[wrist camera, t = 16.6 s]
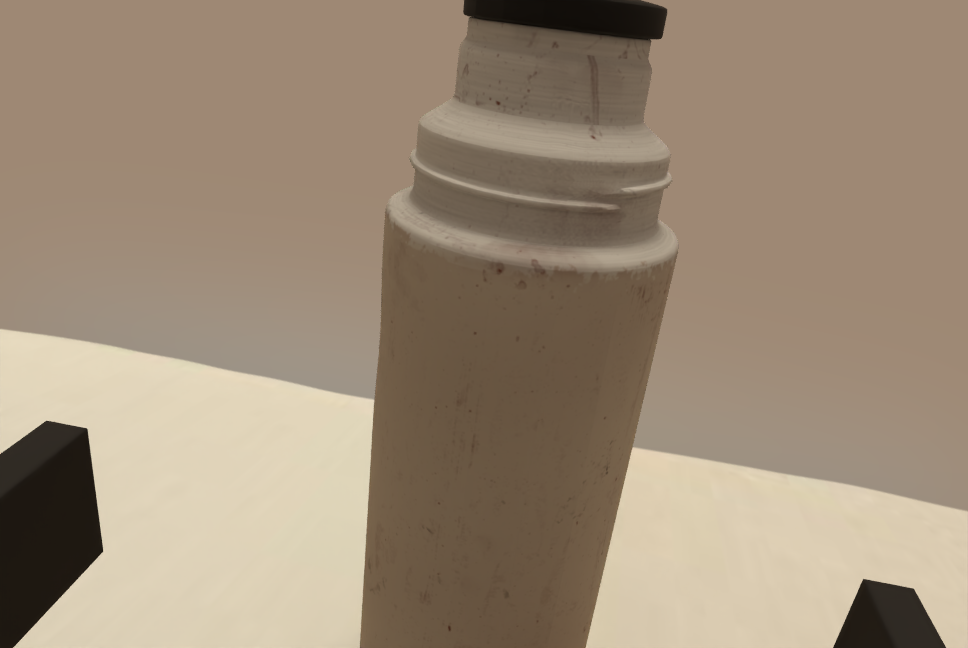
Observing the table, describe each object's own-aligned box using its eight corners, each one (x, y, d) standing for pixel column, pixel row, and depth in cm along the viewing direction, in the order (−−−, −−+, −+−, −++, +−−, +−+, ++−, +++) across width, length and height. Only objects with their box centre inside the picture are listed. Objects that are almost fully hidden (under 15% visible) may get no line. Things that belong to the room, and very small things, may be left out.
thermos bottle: (357, 673, 32) (397, -29, 20) (533, 669, 33) (665, 4, 21) (347, 874, 24) (401, -43, 13) (574, 859, 26) (803, 10, 14)
